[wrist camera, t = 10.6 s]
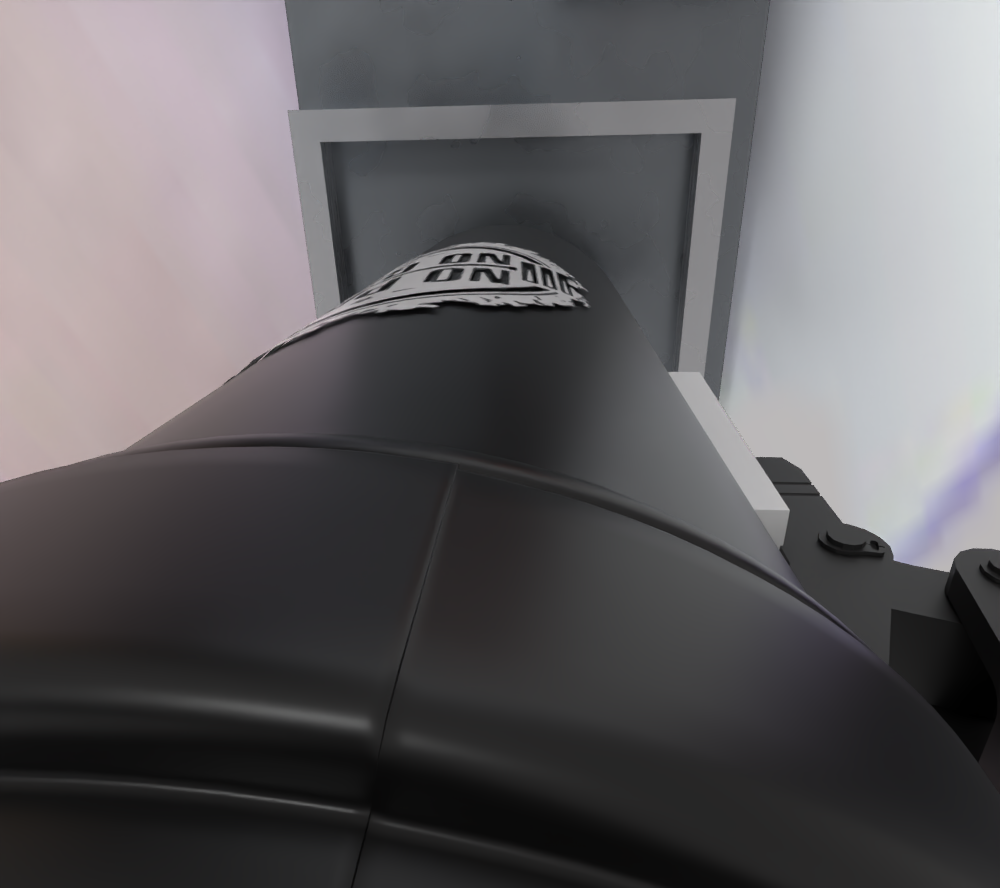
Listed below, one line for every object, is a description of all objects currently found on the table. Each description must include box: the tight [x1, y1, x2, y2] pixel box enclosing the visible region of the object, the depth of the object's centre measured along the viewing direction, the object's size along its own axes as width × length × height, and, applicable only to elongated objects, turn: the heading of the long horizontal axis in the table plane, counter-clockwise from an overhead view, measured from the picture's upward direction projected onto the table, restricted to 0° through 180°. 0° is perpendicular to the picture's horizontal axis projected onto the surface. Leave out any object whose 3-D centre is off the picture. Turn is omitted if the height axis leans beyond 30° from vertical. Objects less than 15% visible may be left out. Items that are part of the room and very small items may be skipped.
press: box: [285, 0, 770, 401], centre depth 21 cm, size 16×28×8 cm, turn 1°
